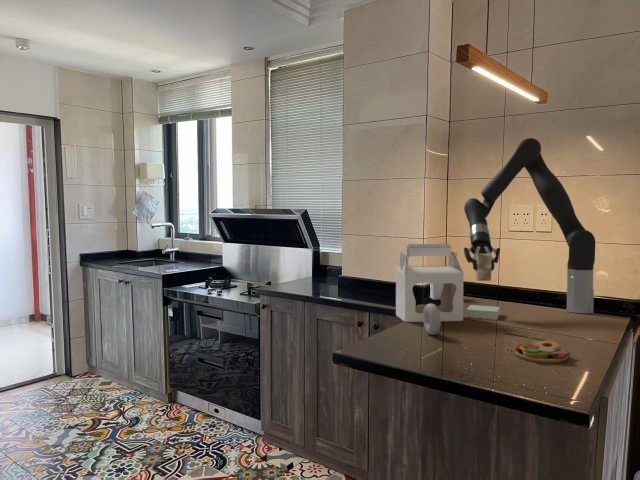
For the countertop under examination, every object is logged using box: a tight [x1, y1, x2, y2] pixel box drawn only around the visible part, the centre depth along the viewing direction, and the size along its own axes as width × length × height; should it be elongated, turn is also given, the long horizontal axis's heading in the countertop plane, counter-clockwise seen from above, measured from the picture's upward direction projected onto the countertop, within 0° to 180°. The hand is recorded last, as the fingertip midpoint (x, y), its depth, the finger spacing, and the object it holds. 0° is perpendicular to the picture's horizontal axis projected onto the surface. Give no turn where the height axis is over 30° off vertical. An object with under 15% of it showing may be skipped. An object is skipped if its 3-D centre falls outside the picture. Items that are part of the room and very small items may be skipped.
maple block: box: [475, 253, 492, 282], centre depth 182 cm, size 5×5×10 cm
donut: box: [422, 303, 442, 336], centre depth 151 cm, size 10×4×10 cm, turn 5°
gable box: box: [395, 243, 464, 323], centre depth 178 cm, size 22×13×28 cm, turn 95°
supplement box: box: [429, 283, 444, 301], centre depth 227 cm, size 9×9×15 cm
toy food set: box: [514, 340, 571, 364], centre depth 126 cm, size 13×13×3 cm
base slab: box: [465, 304, 501, 321], centre depth 183 cm, size 11×11×4 cm
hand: (484, 269), depth 181 cm, fingers closed on maple block, 5 cm apart
